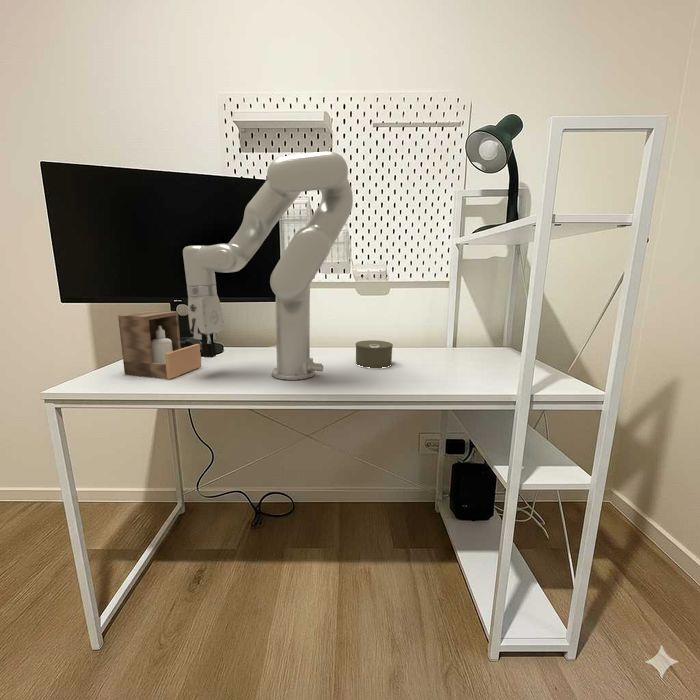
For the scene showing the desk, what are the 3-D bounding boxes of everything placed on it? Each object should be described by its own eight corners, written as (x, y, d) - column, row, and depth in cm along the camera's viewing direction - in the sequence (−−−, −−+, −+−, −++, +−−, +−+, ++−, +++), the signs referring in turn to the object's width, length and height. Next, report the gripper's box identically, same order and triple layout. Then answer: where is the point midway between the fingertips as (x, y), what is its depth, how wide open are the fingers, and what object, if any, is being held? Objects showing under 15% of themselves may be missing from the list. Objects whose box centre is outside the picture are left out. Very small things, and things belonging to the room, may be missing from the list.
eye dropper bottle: (169, 368, 113) (165, 327, 110) (150, 367, 113) (146, 326, 110) (176, 364, 117) (172, 324, 114) (157, 364, 117) (154, 324, 115)
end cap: (195, 360, 129) (194, 340, 127) (173, 360, 128) (172, 340, 127) (205, 353, 138) (204, 335, 137) (185, 353, 138) (183, 335, 137)
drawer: (201, 366, 120) (199, 344, 118) (170, 378, 107) (168, 353, 105) (162, 363, 123) (160, 341, 122) (127, 374, 110) (125, 350, 109)
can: (390, 360, 133) (391, 340, 131) (393, 369, 121) (394, 348, 120) (355, 359, 133) (355, 340, 131) (354, 369, 121) (355, 347, 120)
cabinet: (196, 367, 120) (192, 312, 116) (167, 379, 108) (162, 317, 104) (157, 364, 123) (152, 310, 120) (124, 374, 111) (118, 315, 107)
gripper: (197, 294, 99) (205, 363, 103) (229, 289, 114) (235, 351, 117) (172, 294, 101) (181, 362, 105) (206, 290, 115) (213, 350, 119)
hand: (209, 356), depth 111 cm, fingers closed
